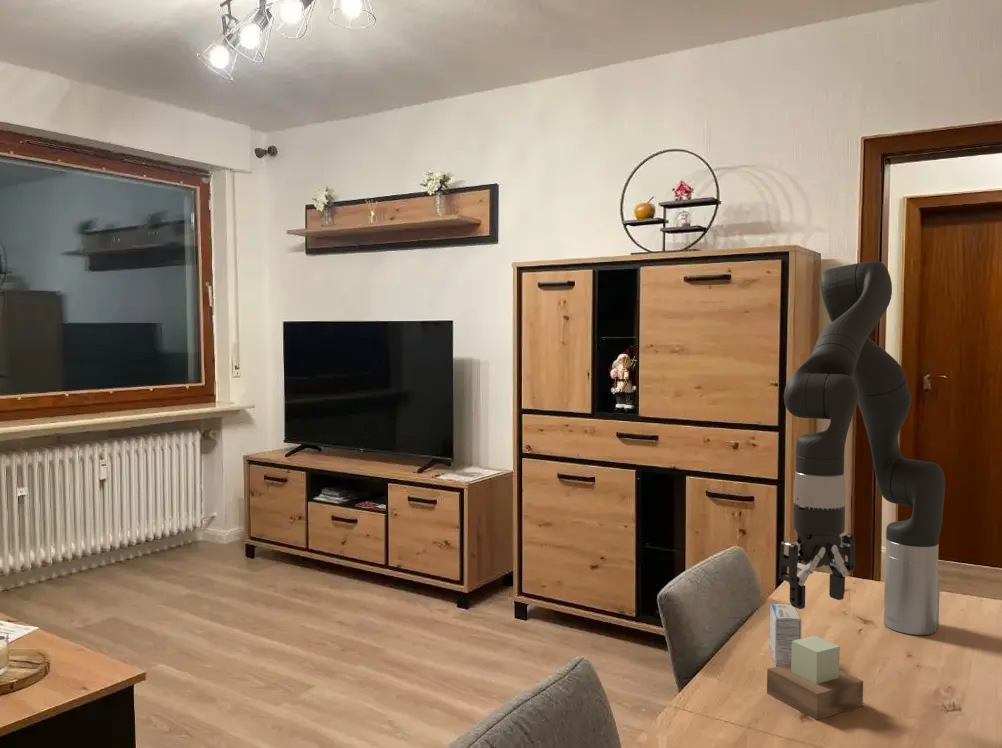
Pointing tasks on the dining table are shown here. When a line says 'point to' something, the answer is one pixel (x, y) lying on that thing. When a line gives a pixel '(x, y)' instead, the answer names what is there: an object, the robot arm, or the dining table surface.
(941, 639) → the dining table surface
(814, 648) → the sage green cube
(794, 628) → the medicine box
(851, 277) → the robot arm
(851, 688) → the walnut block
